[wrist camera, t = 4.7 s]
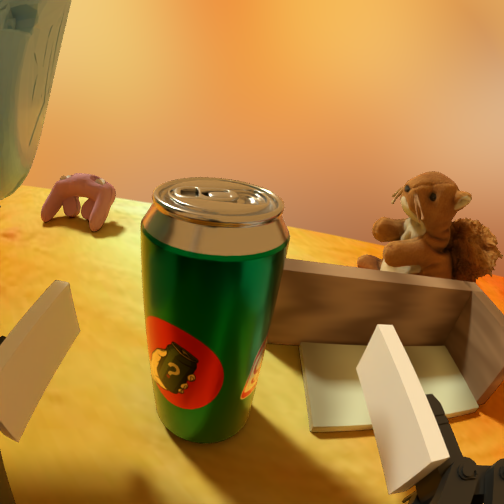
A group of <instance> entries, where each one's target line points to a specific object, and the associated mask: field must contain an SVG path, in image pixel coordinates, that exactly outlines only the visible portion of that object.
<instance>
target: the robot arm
mask: <svg viewBox="0 0 504 504" xmlns="http://www.w3.org/2000/svg"><path fill="white" fill-rule="evenodd" d="M70 4H71V0H0V200H2V199H4V198H6V197H8V196H10V195H11V194H13V193H14V192H15V191H16V190H17V189H18V188H19V187H20V186H21V184H22V183H23V181H24V180H25V178H26V177H27V175H28V173H29V170H30V168H31V166H32V163H33V160H34V158H35V154H36V150H37V148H38V144H39V140H40V136H41V132H42V128H43V123H44V119H45V114H46V110H47V105H48V101H49V96H50V92H51V87H52V83H53V78H54V74H55V69H56V65H57V60H58V56H59V52H60V47H61V43H62V39H63V34H64V29H65V26H66V22H67V17H68V13H69V8H70ZM79 332H80V328H79V324H78V321H77V316H76V312H75V308H74V304H73V299H72V294H71V289H70V284H69V283H68V282H63V281H59V280H55V281H54V282H53V283H52V284H51V285H50V286H49V287H48V289H47V290H46V291H45V292H44V293H43V294H42V295H41V296H40V298H39V299H38V300H37V301H36V302H35V303H34V304H33V306H32V307H31V308H30V309H29V310H28V311H27V313H26V314H25V315H24V316H23V317H22V319H21V320H20V321H19V322H18V323H17V325H16V326H15V327H14V328H13V330H12V331H11V332H10V333H9V335H8V336H7V337H4V336H1V337H0V431H1V432H2V433H3V434H4V435H6V436H7V437H9V438H11V439H13V440H15V441H16V442H19V440H20V438H21V436H22V434H23V432H24V430H25V428H26V426H27V424H28V422H29V420H30V418H31V416H32V414H33V412H34V410H35V408H36V406H37V404H38V402H39V400H40V399H41V397H42V395H43V393H44V391H45V389H46V388H47V386H48V384H49V382H50V380H51V379H52V377H53V375H54V373H55V372H56V370H57V368H58V367H59V365H60V363H61V362H62V360H63V358H64V356H65V355H66V353H67V352H68V350H69V348H70V347H71V345H72V343H73V342H74V340H75V339H76V337H77V335H78V334H79ZM356 370H357V373H358V377H359V380H360V384H361V387H362V390H363V394H364V397H365V401H366V405H367V408H368V412H369V416H370V419H371V423H372V427H373V431H374V434H375V438H376V442H377V446H378V450H379V454H380V458H381V463H382V467H383V471H384V476H385V480H386V484H387V489H388V494H389V495H390V494H395V493H399V492H404V491H407V490H408V489H410V488H411V487H412V486H414V485H415V486H416V491H414V492H413V493H412V494H410V495H409V496H407V497H406V498H404V500H403V501H402V502H403V503H405V502H406V501H408V500H409V499H410V500H409V502H408V504H483V503H484V504H504V459H500V460H498V461H497V462H496V463H495V464H493V465H492V466H482V465H476V463H475V462H474V461H473V460H472V459H470V458H467V457H463V455H462V453H461V451H460V449H459V446H458V443H457V441H456V438H455V436H454V433H453V431H452V429H451V426H450V424H448V423H449V421H448V419H447V417H446V416H445V412H444V410H443V407H442V405H441V403H440V402H439V401H438V400H437V398H436V397H435V396H434V395H433V394H425V393H424V391H423V388H422V386H421V384H420V381H419V379H418V377H417V375H416V373H415V370H414V368H413V366H412V364H411V362H410V360H409V357H408V355H407V353H406V351H405V349H404V347H403V345H402V343H401V341H400V339H399V337H398V335H397V333H396V331H395V329H394V327H393V325H383V324H377V326H376V329H375V331H374V333H373V335H372V337H371V339H370V341H369V343H368V346H367V348H366V350H365V352H364V354H363V356H362V358H361V360H360V362H359V364H358V366H357V367H356ZM0 504H16V503H15V500H14V497H13V494H12V491H11V488H10V485H9V482H8V478H7V475H6V471H5V468H4V464H3V460H2V456H1V451H0Z"/></svg>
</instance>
